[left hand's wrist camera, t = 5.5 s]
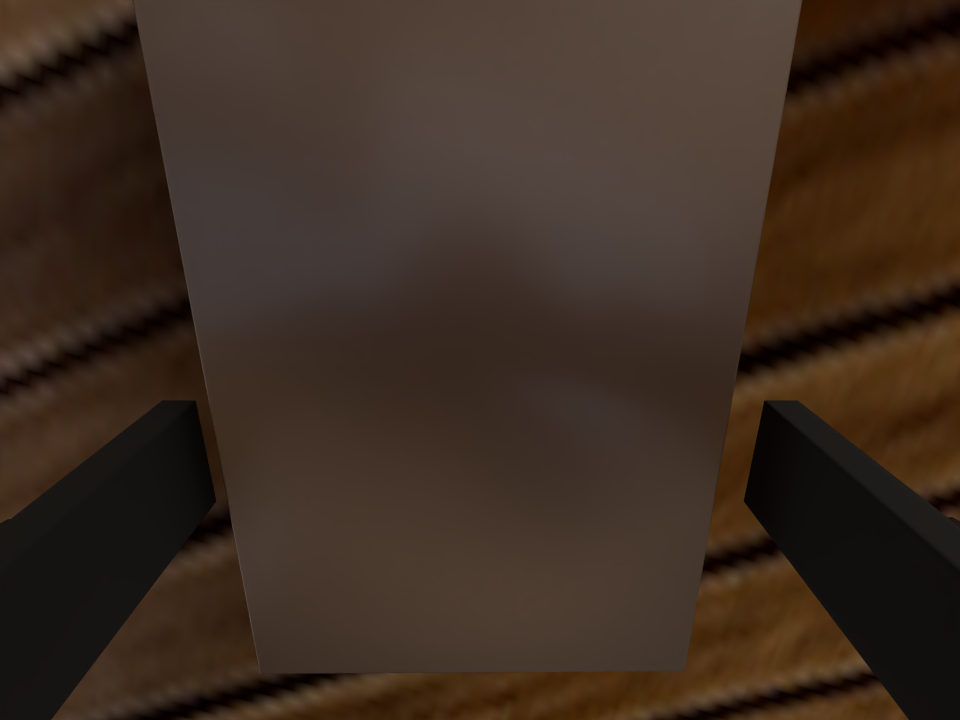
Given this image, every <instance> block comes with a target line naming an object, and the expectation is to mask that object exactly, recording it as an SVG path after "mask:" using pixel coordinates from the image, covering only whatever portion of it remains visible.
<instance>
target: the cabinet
mask: <svg viewBox="0 0 960 720" xmlns="http://www.w3.org/2000/svg"><path fill="white" fill-rule="evenodd" d="M133 4H134V10H135V15H136V20H137V25H138V31H139V36H140V41H141V47H142V52H143V57H144V62H145V68H146V73H147V78H148V84H149V89H150V94H151V99H152V105H153V110H154V115H155V121H156V126H157V131H158V136H159V142H160V147H161V152H162V158H163V163H164V168H165V173H166V179H167V184H168V189H169V195H170V200H171V205H172V210H173V216H174V221H175V226H176V232H177V237H178V242H179V247H180V253H181V258H182V263H183V268H184V274H185V279H186V284H187V290H188V295H189V300H190V305H191V311H192V316H193V321H194V327H195V332H196V337H197V342H198V348H199V353H200V358H201V364H202V369H203V374H204V379H205V385H206V390H207V395H208V401H209V406H210V411H211V416H212V422H213V427H214V432H215V438H216V443H217V448H218V453H219V459H220V464H221V469H222V475H223V480H224V485H225V490H226V496H227V501H228V506H229V512H230V517H231V522H232V527H233V533H234V538H235V543H236V549H237V554H238V559H239V564H240V570H241V575H242V580H243V586H244V591H245V596H246V601H247V607H248V612H249V617H250V623H251V628H252V633H253V638H254V644H255V649H256V654H257V660H258V665H259V670H260V673H261V674H292V673H452V672H612V671H684V670H685V665H686V659H687V654H688V648H689V642H690V637H691V631H692V625H693V619H694V614H695V608H696V602H697V597H698V591H699V585H700V580H701V574H702V568H703V562H704V557H705V551H706V545H707V540H708V534H709V528H710V523H711V517H712V511H713V506H714V500H715V494H716V488H717V483H718V477H719V471H720V466H721V460H722V454H723V449H724V443H725V437H726V431H727V426H728V420H729V414H730V409H731V403H732V397H733V392H734V386H735V380H736V374H737V369H738V363H739V357H740V352H741V346H742V340H743V335H744V329H745V323H746V317H747V312H748V306H749V300H750V295H751V289H752V283H753V278H754V272H755V266H756V261H757V255H758V249H759V243H760V238H761V232H762V226H763V221H764V215H765V209H766V204H767V198H768V192H769V186H770V181H771V175H772V169H773V164H774V158H775V152H776V147H777V141H778V135H779V129H780V124H781V118H782V112H783V107H784V101H785V95H786V90H787V84H788V78H789V72H790V67H791V61H792V55H793V50H794V44H795V38H796V33H797V27H798V21H799V16H800V10H801V4H802V0H133Z"/></svg>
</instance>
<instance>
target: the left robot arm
mask: <svg viewBox="0 0 960 720" xmlns="http://www.w3.org/2000/svg"><path fill="white" fill-rule="evenodd" d="M215 502H216V498H215V493H214V488H213V483H212V478H211V474H210V469H209V464H208V459H207V454H206V449H205V444H204V439H203V435H202V430H201V425H200V420H199V415H198V410H197V405H196V401H161V402H160V403H159V404H157V405H156V406H155V407H154V408H152V409H151V410H150V411H148V412H147V413H146V414H145V415H143V416H142V417H141V418H139V419H138V420H137V421H136V422H134V423H133V424H132V425H131V426H129V427H128V428H127V429H125V430H124V431H123V432H122V433H120V434H119V435H118V436H116V437H115V438H114V439H113V440H111V441H110V442H109V443H108V444H106V445H105V446H104V447H102V448H101V449H100V450H99V451H97V452H96V453H95V454H93V455H92V456H91V457H90V458H88V459H87V460H86V461H84V462H83V463H82V464H81V465H79V466H78V467H77V468H76V469H74V470H73V471H72V472H70V473H69V474H68V475H67V476H65V477H64V478H63V479H61V480H60V481H59V482H58V483H56V484H55V485H54V486H52V487H51V488H50V489H49V490H47V491H46V492H45V493H44V494H42V495H41V496H40V497H38V498H37V499H36V500H35V501H33V502H32V503H31V504H29V505H28V506H27V507H26V508H24V509H23V510H22V511H20V512H19V513H18V514H17V515H15V516H14V517H13V518H12V519H8V520H6V521H4V522H2V523H0V720H51V719H52V718H53V716H54V715H55V714H56V712H57V711H58V710H59V708H60V707H61V706H62V704H63V703H64V702H65V701H66V699H67V698H68V697H69V695H70V694H71V693H72V691H73V690H74V689H75V687H76V686H77V685H78V683H79V682H80V681H81V679H82V678H83V677H84V675H85V674H86V673H87V671H88V670H89V669H90V667H91V666H92V665H93V663H94V662H95V661H96V660H97V658H98V657H99V656H100V654H101V653H102V652H103V650H104V649H105V648H106V646H107V645H108V644H109V642H110V641H111V640H112V638H113V637H114V636H115V634H116V633H117V632H118V630H119V629H120V628H121V626H122V625H123V624H124V622H125V621H126V620H127V619H128V617H129V616H130V615H131V613H132V612H133V611H134V609H135V608H136V607H137V605H138V604H139V603H140V601H141V600H142V599H143V597H144V596H145V595H146V593H147V592H148V591H149V589H150V588H151V587H152V585H153V584H154V583H155V582H156V580H157V579H158V578H159V576H160V575H161V574H162V572H163V571H164V570H165V568H166V567H167V566H168V564H169V563H170V562H171V560H172V559H173V558H174V556H175V555H176V554H177V552H178V551H179V550H180V548H181V547H182V546H183V544H184V543H185V542H186V541H187V539H188V538H189V537H190V535H191V534H192V533H193V531H194V530H195V529H196V527H197V526H198V525H199V523H200V522H201V521H202V519H203V518H204V517H205V515H206V514H207V513H208V511H209V510H210V509H211V507H212V506H213V505H214V503H215ZM744 502H745V503H746V505H747V506H748V507H749V509H750V510H751V511H752V513H753V514H754V515H755V517H756V518H757V519H758V521H759V522H760V523H761V525H762V526H763V527H764V529H765V530H766V531H767V533H768V534H769V535H770V537H771V538H772V539H773V541H774V542H775V543H776V544H777V546H778V547H779V548H780V550H781V551H782V552H783V554H784V555H785V556H786V558H787V559H788V560H789V562H790V563H791V564H792V566H793V567H794V568H795V570H796V571H797V572H798V574H799V575H800V576H801V578H802V579H803V580H804V582H805V583H806V584H807V585H808V587H809V588H810V589H811V591H812V592H813V593H814V595H815V596H816V597H817V599H818V600H819V601H820V603H821V604H822V605H823V607H824V608H825V609H826V611H827V612H828V613H829V615H830V616H831V617H832V619H833V620H834V621H835V622H836V624H837V625H838V626H839V628H840V629H841V630H842V632H843V633H844V634H845V636H846V637H847V638H848V640H849V641H850V642H851V644H852V645H853V646H854V648H855V649H856V650H857V652H858V653H859V654H860V656H861V657H862V658H863V660H864V661H865V662H866V663H867V665H868V666H869V667H870V669H871V670H872V671H873V673H874V674H875V675H876V677H877V678H878V679H879V681H880V682H881V683H882V685H883V686H884V687H885V689H886V690H887V691H888V693H889V694H890V695H891V697H892V698H893V699H894V701H895V702H896V703H897V704H898V706H899V707H900V708H901V710H902V711H903V712H904V714H905V715H906V716H907V718H908V719H909V720H960V521H958V520H957V519H955V518H953V517H946V516H945V515H943V514H942V513H941V512H940V511H938V510H937V509H936V508H934V507H933V506H932V505H931V504H929V503H928V502H927V501H925V500H924V499H923V498H922V497H920V496H919V495H918V494H916V493H915V492H914V491H913V490H911V489H910V488H909V487H908V486H906V485H905V484H904V483H902V482H901V481H900V480H899V479H897V478H896V477H895V476H893V475H892V474H891V473H890V472H888V471H887V470H886V469H884V468H883V467H882V466H881V465H879V464H878V463H877V462H876V461H874V460H873V459H872V458H870V457H869V456H868V455H867V454H865V453H864V452H863V451H861V450H860V449H859V448H858V447H856V446H855V445H854V444H852V443H851V442H850V441H849V440H847V439H846V438H845V437H844V436H842V435H841V434H840V433H838V432H837V431H836V430H835V429H833V428H832V427H831V426H829V425H828V424H827V423H826V422H824V421H823V420H822V419H821V418H819V417H818V416H817V415H815V414H814V413H813V412H812V411H810V410H809V409H808V408H806V407H805V406H804V405H803V404H801V403H800V402H799V401H764V405H763V410H762V415H761V420H760V425H759V430H758V435H757V439H756V444H755V449H754V454H753V459H752V464H751V469H750V474H749V478H748V483H747V488H746V493H745V498H744Z"/></svg>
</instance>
